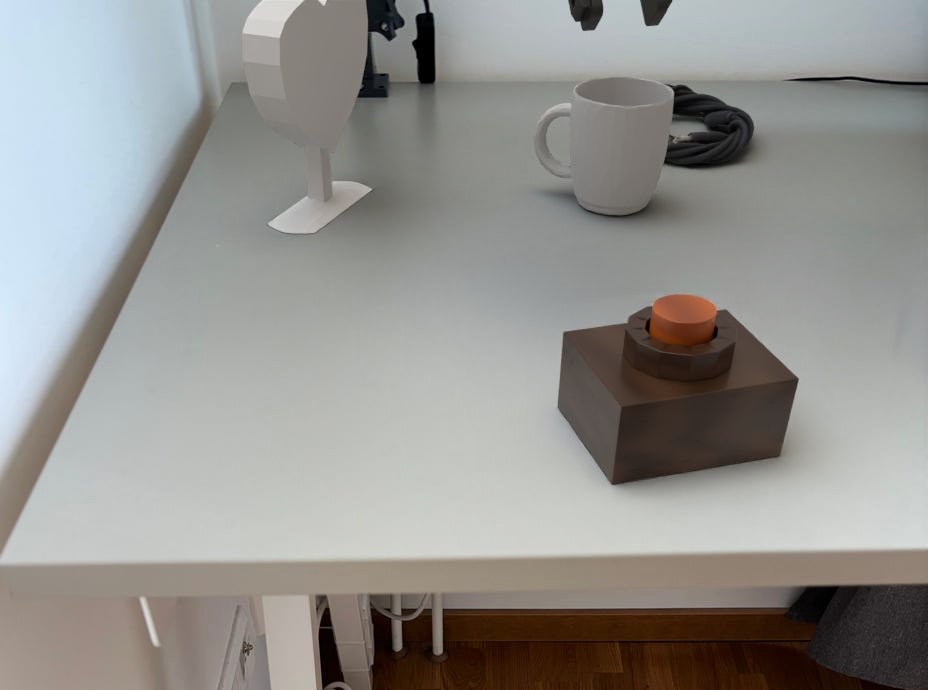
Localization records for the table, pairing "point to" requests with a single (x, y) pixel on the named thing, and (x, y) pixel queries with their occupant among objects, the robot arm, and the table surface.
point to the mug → (612, 141)
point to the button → (683, 320)
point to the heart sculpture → (308, 91)
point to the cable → (708, 143)
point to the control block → (673, 398)
